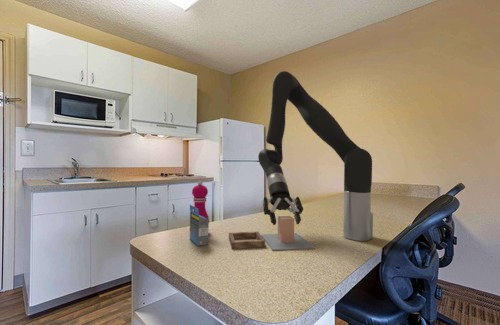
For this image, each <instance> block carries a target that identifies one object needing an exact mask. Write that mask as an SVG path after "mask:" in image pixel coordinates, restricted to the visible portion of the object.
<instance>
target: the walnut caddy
mask: <svg viewBox="0 0 500 325" xmlns="http://www.w3.org/2000/svg"><path fill="white" fill-rule="evenodd" d="M239 239H245V240H239ZM246 239H253V240H246ZM228 241H229V245H230V247H231V250H233V249H235V250H236V249H253V248H255V249H257V248H266V241H265V240H264V239H263V237H262V236H261V233H260V232H259V231H238V232H236V231H235V232H228Z"/></svg>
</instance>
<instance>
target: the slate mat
mask: <svg viewBox="0 0 500 325" xmlns="http://www.w3.org/2000/svg"><path fill="white" fill-rule="evenodd" d="M260 235H261V236H262V237H263V239H264V240H265V244H267V245H268V246H269V248H270V250H271V251H273V252H274V251H293V250H295V251H296V250H312V249H315V246H313V245H312V244H311V243H309V242H308V241H307V240H306V239H304V238H303V237H302V236H301V235H300V234H298V233H297V232H294V242H285V243H281V242H280V241H279V240H278V233H265V234H264V233H263V234H262V233H260Z"/></svg>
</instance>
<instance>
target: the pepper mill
mask: <svg viewBox="0 0 500 325" xmlns="http://www.w3.org/2000/svg"><path fill="white" fill-rule="evenodd" d="M208 193H209V190H208V187H207V186H205V185H203V181H201V180H199V181H198V182H197V185H195V186H194V187H192V191H191V195H192V196H193V197H192V199H193V203H194V205H193V206H194V207H196V208H198V211H199V215H200V216H202V217H204V218H206V219H208V220H209V221H210V219H209V215H208V213H207V209H206V202H207V195H208ZM193 211H194V212H196V211H195V210H193Z"/></svg>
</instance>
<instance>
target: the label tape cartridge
mask: <svg viewBox="0 0 500 325" xmlns="http://www.w3.org/2000/svg"><path fill="white" fill-rule="evenodd" d="M194 210H195V211H196V212H194ZM209 224H210V219H209V220H208V219H206V218H204V217H202V216H200V215H199V211H198V208H196V207H194V205H192V204H189V240H190V241H192V242H193V243H194V244H195V245H196V246H197V247H201V246H207V245H209Z"/></svg>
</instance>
